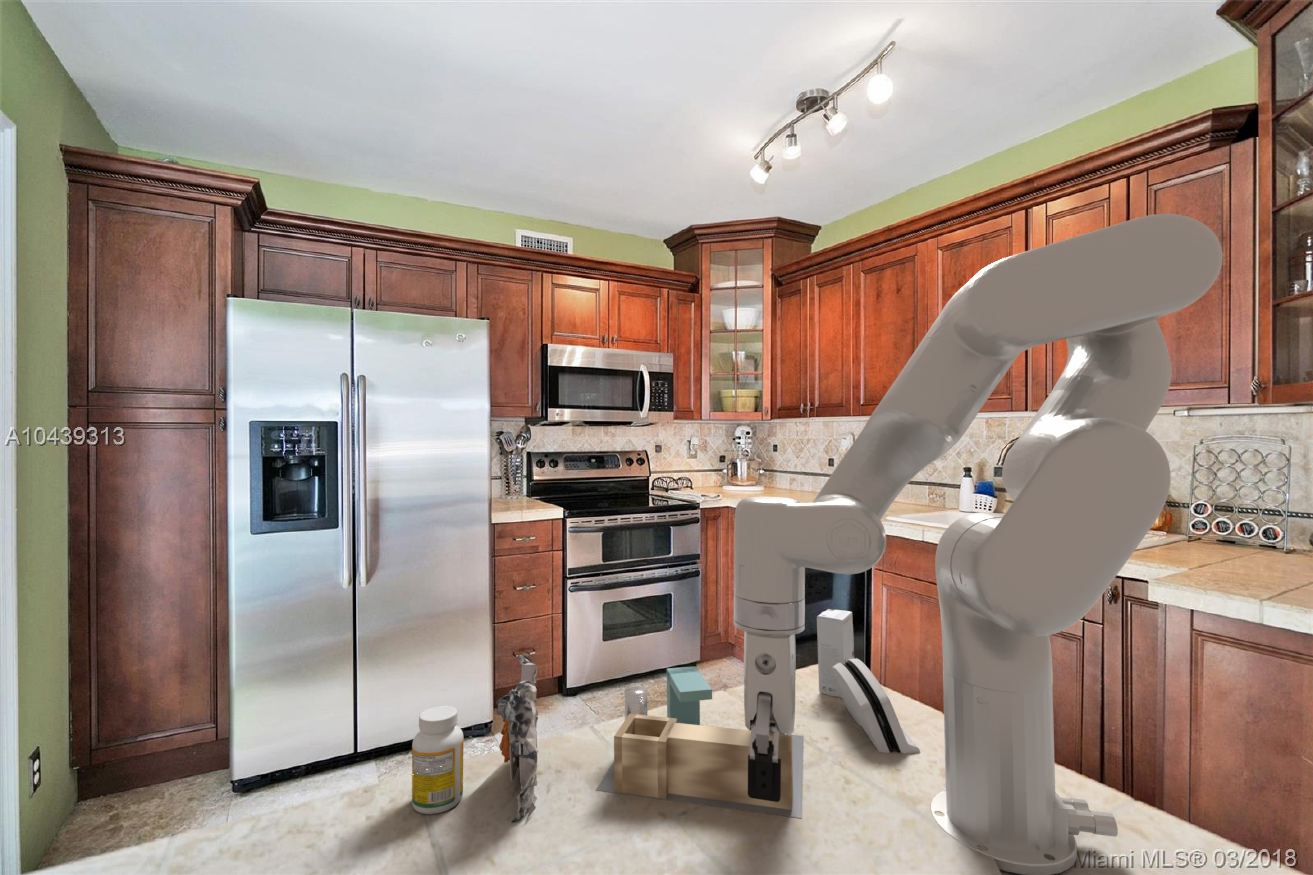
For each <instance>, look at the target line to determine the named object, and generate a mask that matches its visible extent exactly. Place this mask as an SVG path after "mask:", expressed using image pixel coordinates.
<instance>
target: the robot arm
mask: <svg viewBox="0 0 1313 875" xmlns="http://www.w3.org/2000/svg"><path fill="white" fill-rule="evenodd" d="M1223 258H1224V253H1223V249H1222V244H1221V242H1220V240H1219V238H1218V236H1217V235H1216V233H1215V232H1214V231H1213V230H1212V229H1211V228H1210V227H1209V226H1207V225H1206V224H1204V223H1203V222H1202V221H1199V220H1198V219H1195V218H1193V217H1191V216H1187V215H1182V214H1179V213H1177V214H1176V213H1174V214H1173V213H1161V214H1160V213H1158V214H1149V215H1144V216H1141V217H1135V218H1133V219H1129V220H1126V221H1122V222H1119V223H1116V224H1113V225H1110V226H1107V227H1106V226H1105V227H1103V228H1100V229H1097V230H1093V231H1090V232H1087V233H1082V234H1080V235H1075V236H1073V237H1069V238H1067V239H1063V240H1059V241H1057V242H1056V241H1055V242H1053V243H1049V244H1046V245H1043V246H1039V247H1035V248H1031V249H1029V250H1026V251H1022V252H1019V253H1016V254H1013V255H1011V256H1008V257H1004V258H1002V259H999V260H997V261H995V262H994V261H993V262H992V263H991V264H988V265H987V266H985V267H984V268H982V269H980V270H979V271H978V272H976V274H975V275H974V276H973V277H972V278H970V279H969V281H968V282H966V283H965V284H964V285H963V286H962V287H961V288H959V289H958V290H957V291H956V292H955V293H954V295H952V297H951V298H950V299H949V300H948V301H947V303H946V304H945V305H944V307H943V309H942V310H941V312H940V313H939V315H937V317H936V319H935V320H934V322H933V323H932V325H931V327H930V328H929V330H927V332H926V334H925V335H924V337H923V338H922V340H921V342H920V343H918V345H917V347H916V349H915V350H914V352H913V353H912V355H911V356H910V357H909V359H908V361H907V362H906V364H905V365H904V367H903V368H902V370H900V372H899V374H898V376H896V379H895V380H894V381H893V383H892V384H891V386H890V387H889V388H888V390H887V392H886V393H885V395H884V396H883V397H882V399H881V400H880V401H879V403H878V404H877V406H876V407H875V409H874V411H873V412H872V413H871V415H870V417H869V418H868V419H867V421H866V424H865V425H864V427H863V428H862V429H861V431H860V433H859V435H858V436H857V437H856V438H855V440H854V441H853V443H852V444H851V446H850V447H849V449H848V450H847V451H846V453H845V454H844V456H843V457H842V459H840V461H839V463H838V464H837V466H836V467H835V469H834V470H833V472H832V473H831V475H830V476H829V477H828V479H827V480H826V482H825V483H824V485H823V487H822V488H821V489H820V491H819V492H818V494H817V495H816V497H815V498H814V500H813V501H812V502H800V501H799V500H796V499H795V498H791V497H781V496H751V497H746V498H745V497H744V498H742V499H740V501H738V503H737V505H736V506H735V510H734V549H733V550H734V553H733V554H734V558H733V561H734V568H733V571H734V573H733V575H734V578H733V579H734V581H733V625H734V627H735V628H736V629H738V630H740V631H742V632H744V634H743V636H744V637H743V638H744V640H743V705H744V708H743V711H744V726H745V727H746V730H750V731H751V740H750V754H748V796H749V797H750V798H754V799H761V800H767V801H773V802H779V801H780V798H781V759H779V758H778V751H779V734H787V736H790V735H793V733H794V731H795V719H796V681H797V680H796V678H797V675H796V669H797V667H796V666H797V665H796V664H797V663H796V656H797V654H796V635H798V634H801V633H802V632H804V631H805V628H806V627H805V622H806V621H805V618H806V617H805V616H806V615H805V614H806V613H805V612H806V607H805V606H806V601H805V600H806V598H805V594H806V588H805V587H806V586H805V584H806V568H807V569H808V568H809V569H813V570H818V571H821V572H822V571H823V572H828V573H832V574H840V575H855V574H861V573H864V572H866V571H868V570H870V569H871V568H873V567H874V566H875V565H877V564H878V563H879V561H880V560H881V559H882V557H883V555H884V553H885V550H886V546H887V535H886V534H887V533H886V530H885V527H884V524H883V523H882V520H881V519H882V518H883V517H884V516H885V515H886V513H887V511H888V510H889V509H890V507H891V505H892V504H893V503H894V501H895V500H896V498H897V497H898V495H900V493H901V492H902V491H903V490H904V489H905V487H906V486H907V485H908V484H909V483H910V482H911V480H913V479H914V478H915V477H916V476H917V475H918V474H919V473H920V472H921V471H923V470H924V469H925V468H927V467H928V466H929V465H931V464H932V463H934V462H936V461H938V460H939V459H940V458H942V457H943V456H945V454H947V453H948V452H949V451H950V450H951V449H952V448H953V447H955V445H957V444H958V442H959V441H960V440H961V439H962V437H963V436H964V435H965V434H966V432H967V431H968V429H969V427H970V426H971V424H972V423H973V421H974V420H975V418H976V417H977V415H978V413H979V412H980V410H981V409H982V408H983V407H984V405H985V403H986V402H987V401H988V399H989V398H990V396H991V395H992V394H993V392H994V390H995V389H996V387H997V386H998V385H999V383H1000V382H1001V381H1002V379H1003V378H1004V377H1005V375H1006V374H1007V372H1008V371H1009V370H1010V368H1011V366H1012V365H1013V363H1014V362H1015V361H1016V360H1017V358H1018V356H1020V354H1021V353H1022V352H1024V351H1027V350H1029V349H1032V348H1034V347H1038V346H1041V345H1045V344H1049V343H1055V342H1058V341H1059V342H1060V341H1062V340H1066V346H1067V360H1066V364H1065V367H1064V369H1063V371H1062V372H1061V374H1060V377H1059V378H1058V379H1057V381H1056V383H1055V385H1054V387H1053V389H1052V390H1051V392H1049V394H1048V396H1047V397H1046V399H1045V401H1044V402H1043V403H1042V404H1041V407H1040V408H1039V409H1038V411H1036V414H1034V416H1033V418H1032V419H1031V421H1030V422H1029V423H1028V424H1027V426H1026V428H1025V429H1024V430H1023V432H1022V433H1020V434H1021V435H1020V436H1019V437H1018V438H1017V440H1015V442H1014V444H1013V445H1012V447H1011V448H1010V450H1009V451H1008V453H1007V454H1006V457H1005V460H1004V462H1003V464H1002V465H1003V466H1002V471H1001V476H1002V477H1001V478H1002V479H1001V480H1002V483H1003V484H1002V485H1003V486H1004V489H1005V491H1006V492H1007V494H1008V496H1010V498H1011V499H1012V500H1013V502H1012V503H1011V504H1010V506H1009V507H1008V509H1007V510H1006V512H1005V513H1004V514H1002V513H997V512H976V513H975V512H974V513H971V514H968V515H964V516H962V517H960V518H958V519H956V520H955V521H953V522H952V523H951V524H950V525H949V526H948V527H947V528H945V530H944V532H943V533H942V534H941V536H940V539H939V541H938V544H937V547H936V552H935V560H934V567H935V568H934V569H935V571H934V572H935V580H936V586H937V587H936V588H937V595H938V603H939V604H938V605H939V610H940V611H939V612H940V621H941V622H940V624H941V638H942V639H941V640H942V679H943V682H942V684H943V685H942V686H943V687H942V688H943V726H944V727H943V729H944V732H943V733H944V764H945V766H944V767H945V768H944V769H945V770H944V771H945V773H944V774H945V775H944V776H945V790H942V791H940V792H939V793H937V794H936V795H935V796H934V797H933V798H932V799H931V801H930V805H929V806H930V813H931V816H932V818H933V819H934V821H935V822H936V823H937V825H938V826H939V827H940V828H941V829H942V831H944V832H945V833H946V834H948V835H949V836H950V837H952V838H953V839H954V840H956V841H957V842H959V843H961V844H962V845H964V846H966V847H967V848H970V849H972V850H973V851H976V852H979V853H980V854H983V855H985V856H988V857H991V858H993V859H994V861H995V863H996V866H997V867H998V869H999V870H1001V871H1004V872H1007V873H1013V874H1017V875H1055V874H1056V875H1057V874H1060V873H1063V872H1065V871H1067V870H1069V869H1070V868H1072V867H1073V866H1074V864H1075V862H1076V860H1077V859H1078V844H1077V840H1076V837H1075V836H1079V835H1080V832H1082V833H1089V834H1090V833H1091V834H1093V835H1099V836H1107V837H1114V838H1116V837H1118V833H1119V832H1118V831H1119V830H1118V825H1117V821H1116V818H1115V816H1114V815H1113V814H1112V813H1111V812H1107V811H1098V810H1091V809H1090V808H1089V804H1088V802H1087V800H1086V799H1082V798H1073V797H1069V798H1067V797H1060V795H1059V794H1058V793H1057V792H1056V773H1055V772H1056V770H1055V768H1056V767H1055V736H1054V735H1055V734H1054V732H1055V731H1054V704H1053V703H1054V702H1053V701H1054V700H1053V696H1054V695H1053V685H1054V676H1053V675H1054V674H1053V673H1054V672H1053V671H1054V670H1053V658H1052V657H1053V656H1052V647H1051V640H1050V636H1052V635H1055V634H1057V633H1058V634H1059V633H1061V632H1063V631H1065V630H1068V629H1069V628H1071V627H1072V626H1074V625H1076V624H1077V623H1078V622H1079V621H1080V620H1082V619H1083V618H1084V617H1086V615H1087V614H1088V613H1089V612H1090V611H1091V610H1092V609H1093V607H1095V605H1096V604H1097V603H1098V601H1099V600H1100V599H1101V597H1102V596H1103V595H1104V593H1106V591H1107V589H1108V588H1109V586H1110V585H1111V583H1112V582H1113V581H1114V580H1115V578H1117V575H1118V574H1119V573H1120V571H1121V570H1122V569H1123V567H1124V566H1125V564H1126V563H1127V562H1128V560H1129V559H1130V558H1131V556H1132V555H1133V553H1135V551H1136V549H1137V548H1138V547H1139V546H1140V543H1141V542H1142V541H1143V540H1144V538H1145V537H1146V535H1147V534H1148V532H1150V530H1151V529H1152V527H1153V525H1155V524H1154V523H1156V521H1157V519H1158V518H1159V516H1160V515H1161V513H1162V511H1163V509H1164V507H1165V504H1166V502H1167V500H1168V495H1169V492H1170V488H1171V478H1172V477H1171V466H1170V462H1169V460H1168V457H1167V454H1166V452H1165V450H1164V449H1163V447H1162V446H1161V444H1160V442H1159V441H1158V440H1157V439H1156V438H1155V437H1154V436H1153V435H1152V434H1150V433H1149V432H1148V428H1149V426H1150V425H1151V423H1152V422H1153V420H1154V419H1155V417H1156V415H1157V414H1158V412H1159V410H1160V409H1161V408H1162V406H1163V404H1164V402H1165V400H1166V398H1167V395H1168V392H1169V391H1170V386H1171V382H1172V375H1173V370H1172V369H1173V368H1172V362H1171V356H1170V353H1169V349H1168V344H1167V342H1166V339H1165V336H1164V333H1163V331H1162V328H1161V327H1160V324H1159V323H1158V320H1157V319H1159V318H1162V317H1165V316H1167V315H1171V314H1173V313H1176V312H1178V311H1181V310H1183V309H1185V308H1187V307H1189V306H1190V305H1192V304H1194V303H1195V302H1197V301H1198V300H1199V299H1200V298H1202V297H1203V296H1204V295H1205V294H1206V293H1207V292H1208V291H1209V290H1210V289H1211V288H1212V286H1213V285H1214V284H1215V282H1216V280H1217V278H1218V277H1219V275H1220V272H1221V269H1222V266H1223ZM769 735H771V736H773V744H772V741H769V737H770V736H769ZM936 812H939V813H942V814H943V815H941V816H940V815H938V814H936ZM979 846H983V847H984V848H986V849H987V850H982V849H979V848H978V847H979Z"/></svg>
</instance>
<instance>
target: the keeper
mask: <svg viewBox="0 0 1313 875" xmlns="http://www.w3.org/2000/svg"><path fill="white" fill-rule="evenodd" d="M708 700H710V701H711V700H713V689H712V687H711V685H710V684H709V683H708V682H707V680H706V679H705V677H704V675H702V674H701V672H700V671H699V669H698V668H697V667H696V665H695V666H684V667H672V668H666V714H667V715H666V718H676V719H677V723H682V724H692V725H701V709H700V708H701V704H700V702H701V701H708Z"/></svg>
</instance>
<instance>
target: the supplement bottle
mask: <svg viewBox="0 0 1313 875" xmlns="http://www.w3.org/2000/svg"><path fill="white" fill-rule="evenodd" d="M458 720H459V719H458V710H457V708H456V707H455V706H450V705H439V706H433V707H429V708H427V709H425V710H423V711H422V712H421V713H420V714H419V716H418V728H419V731H418V732H417V734H416V735H415V736H414V737H413V740H412V742H411V743H412V745H411V754H412V755H411V761H412V762H411V776H412V777H411V800H412V802H411V805H412V808H413V809H414V811H416V812H418V813H419V814H424V815H437V814H440V813H444V812H447V811H449V810H452V809H453V808H454V807H456V806H457V805H458V804H459V803H460V802H461V800H462V799H463V795H464V743H465V742H464V731H463V730H462V729H461V727H459V726H458V725H457V724H458ZM440 766H442V767H440ZM426 769H428V770H426ZM417 773H418V774H417ZM412 774H414V775H412Z"/></svg>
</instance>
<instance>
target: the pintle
mask: <svg viewBox="0 0 1313 875" xmlns="http://www.w3.org/2000/svg"><path fill="white" fill-rule="evenodd" d="M629 714H637V715H647V716H648V689H647V688H646V687H643V686H638V685H636V686H630V687H629V686H628V687H627V688H625V689H624V720H625V719H626V718H627V717H628V715H629Z"/></svg>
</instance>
